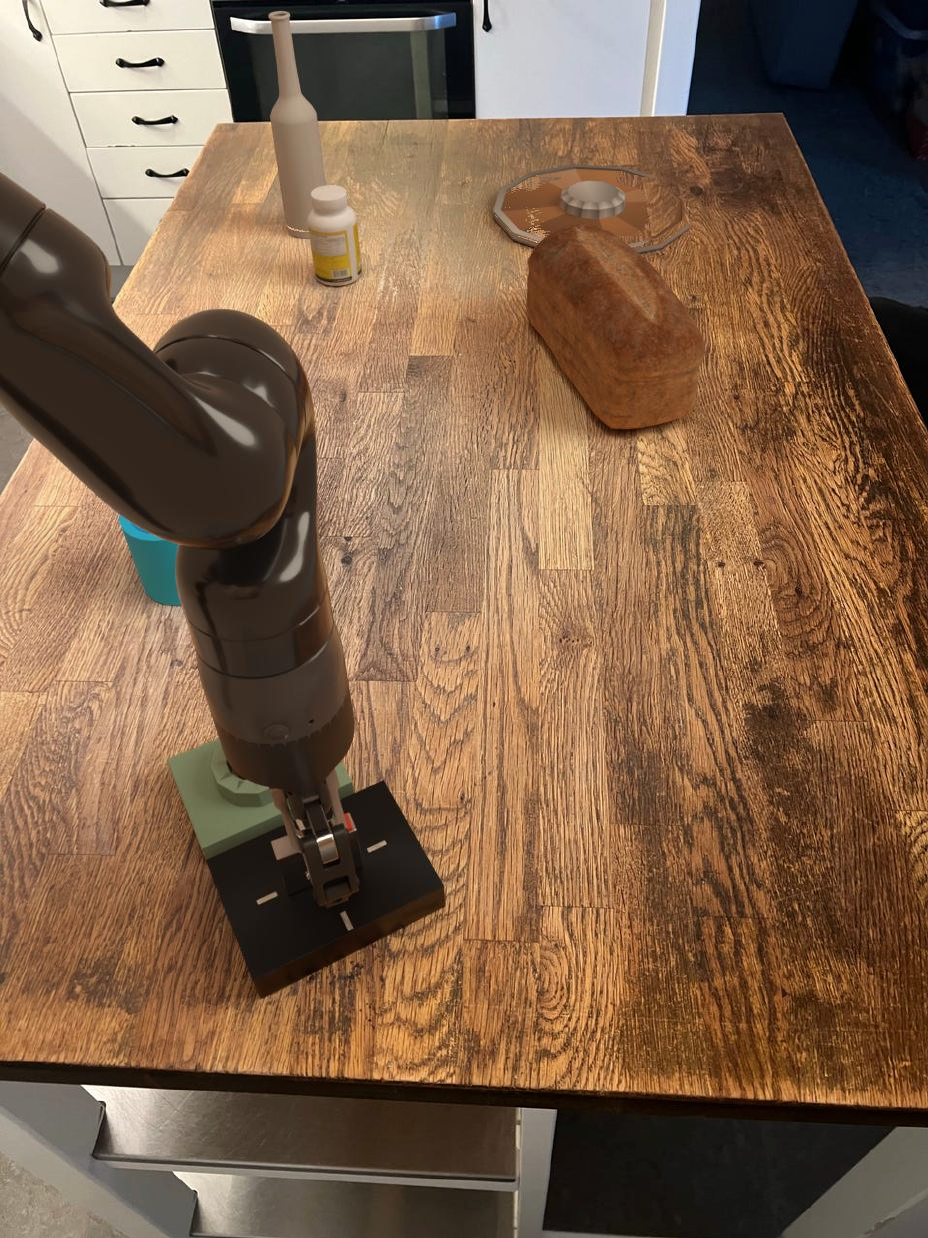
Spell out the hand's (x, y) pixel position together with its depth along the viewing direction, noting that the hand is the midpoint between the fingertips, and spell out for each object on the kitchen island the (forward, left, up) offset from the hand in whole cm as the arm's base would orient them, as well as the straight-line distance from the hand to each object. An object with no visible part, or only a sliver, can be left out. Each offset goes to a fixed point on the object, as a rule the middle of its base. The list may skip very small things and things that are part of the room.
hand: (315, 842), depth 63 cm
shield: (+78, +85, -8) cm, 115 cm away
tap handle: (0, +1, -5) cm, 5 cm away
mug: (+2, +37, -8) cm, 38 cm away
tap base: (0, +1, -8) cm, 8 cm away
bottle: (+39, +102, -8) cm, 109 cm away
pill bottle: (+37, +86, -8) cm, 94 cm away
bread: (+56, +49, -8) cm, 75 cm away
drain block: (-1, +12, -8) cm, 14 cm away
